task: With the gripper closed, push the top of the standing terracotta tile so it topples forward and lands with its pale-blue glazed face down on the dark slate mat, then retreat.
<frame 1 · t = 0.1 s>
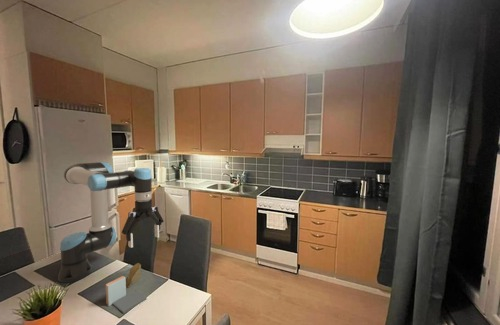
hand: (144, 241, 108), 28 cm above the table, fingers open, 13 cm apart
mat: (129, 301, 105), on the table
tile: (116, 300, 106), on the table
rock: (132, 282, 121), on the table
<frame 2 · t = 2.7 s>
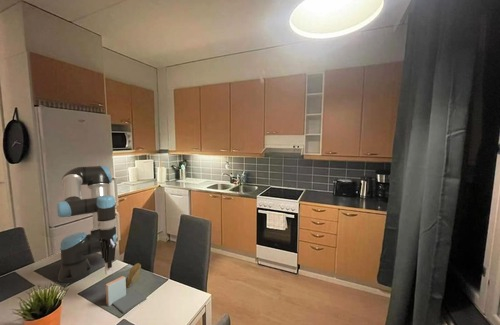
hand: (108, 273, 109), 12 cm above the table, fingers closed
nothing on the table moved.
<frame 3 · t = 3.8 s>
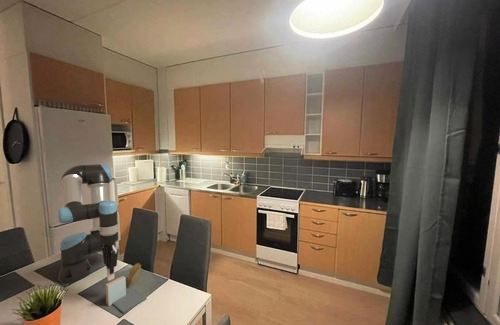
hand: (110, 279, 108), 9 cm above the table, fingers closed
nothing on the table moved.
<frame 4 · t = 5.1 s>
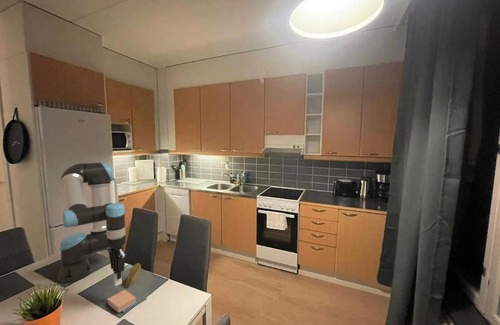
hand: (118, 284, 104), 9 cm above the table, fingers closed
tile: (116, 296, 106), point 2 cm above the table, tilted 90°, touching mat
everything else where it was.
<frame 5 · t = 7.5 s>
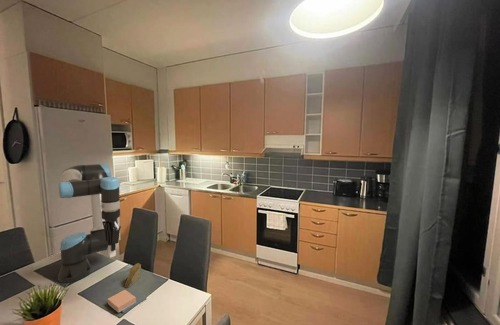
hand: (112, 256, 107), 21 cm above the table, fingers closed
nothing on the table moved.
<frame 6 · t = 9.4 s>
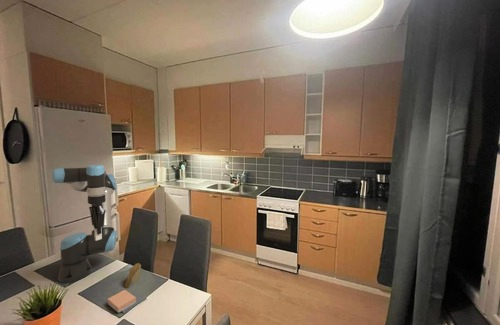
hand: (98, 239, 113), 26 cm above the table, fingers closed
nothing on the table moved.
at the end: tile tilted 90°; tile inside the target area (7.1 cm from its centre), point 2.0 cm above the table; tile touching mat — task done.
